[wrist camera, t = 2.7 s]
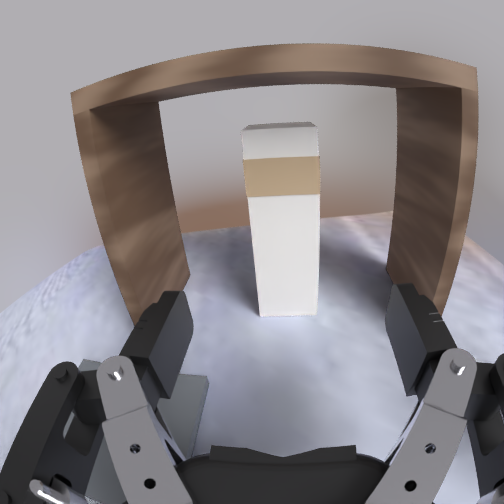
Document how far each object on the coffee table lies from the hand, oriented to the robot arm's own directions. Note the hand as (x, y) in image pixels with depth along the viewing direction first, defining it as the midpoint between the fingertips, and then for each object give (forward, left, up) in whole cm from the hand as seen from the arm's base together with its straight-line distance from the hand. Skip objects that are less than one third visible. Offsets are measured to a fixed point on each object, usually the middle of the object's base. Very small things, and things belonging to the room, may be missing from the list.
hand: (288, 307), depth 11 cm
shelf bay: (0, +10, -8) cm, 13 cm away
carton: (0, +11, -8) cm, 14 cm away
